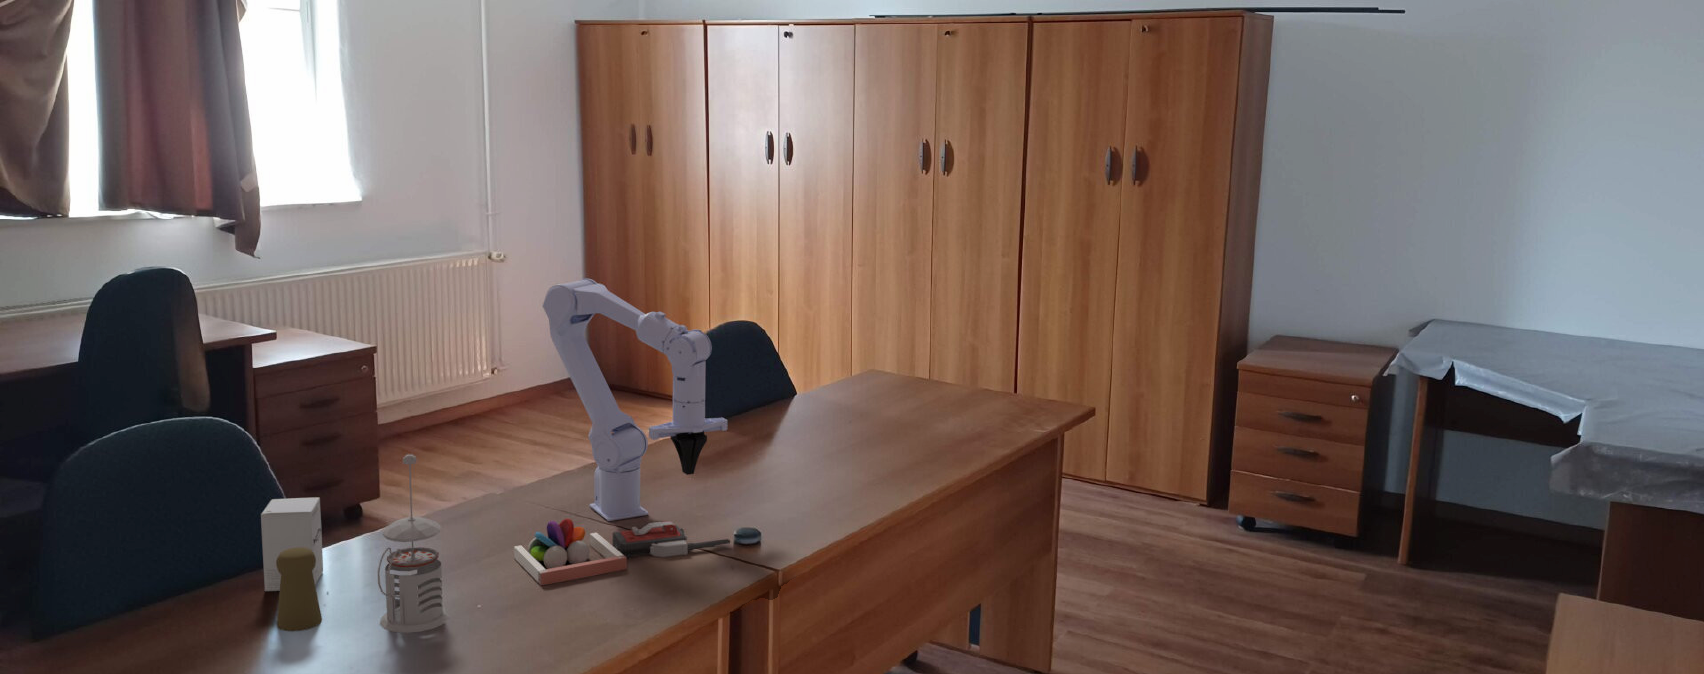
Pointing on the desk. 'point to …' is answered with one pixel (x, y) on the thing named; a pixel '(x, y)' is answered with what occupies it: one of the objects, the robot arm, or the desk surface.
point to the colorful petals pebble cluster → (560, 545)
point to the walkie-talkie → (657, 541)
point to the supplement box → (290, 534)
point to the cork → (297, 590)
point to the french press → (413, 576)
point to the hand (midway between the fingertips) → (688, 472)
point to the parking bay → (569, 572)
